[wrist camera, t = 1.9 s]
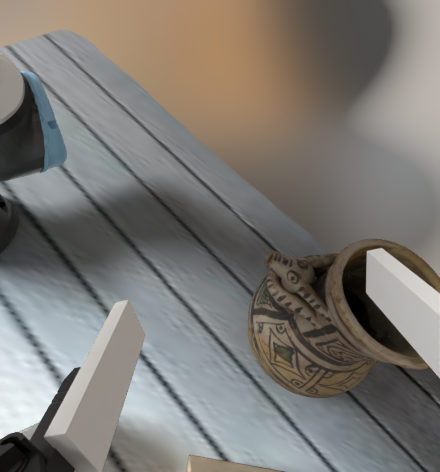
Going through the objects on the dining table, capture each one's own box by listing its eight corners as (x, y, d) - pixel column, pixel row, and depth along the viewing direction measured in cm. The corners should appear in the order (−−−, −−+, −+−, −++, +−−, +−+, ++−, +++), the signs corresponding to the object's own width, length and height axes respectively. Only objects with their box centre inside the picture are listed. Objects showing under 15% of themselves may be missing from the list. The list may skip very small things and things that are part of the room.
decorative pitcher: (356, 314, 46) (519, 268, 24) (334, 422, 38) (549, 503, 16) (250, 259, 48) (310, 170, 26) (206, 350, 40) (240, 334, 18)
